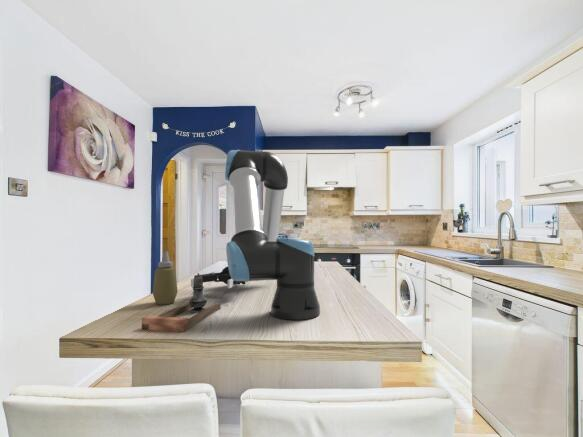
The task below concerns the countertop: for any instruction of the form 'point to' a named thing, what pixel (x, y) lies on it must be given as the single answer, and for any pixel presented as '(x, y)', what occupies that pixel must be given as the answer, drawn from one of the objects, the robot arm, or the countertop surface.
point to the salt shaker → (197, 296)
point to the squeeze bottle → (165, 282)
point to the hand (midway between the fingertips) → (210, 283)
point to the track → (176, 319)
